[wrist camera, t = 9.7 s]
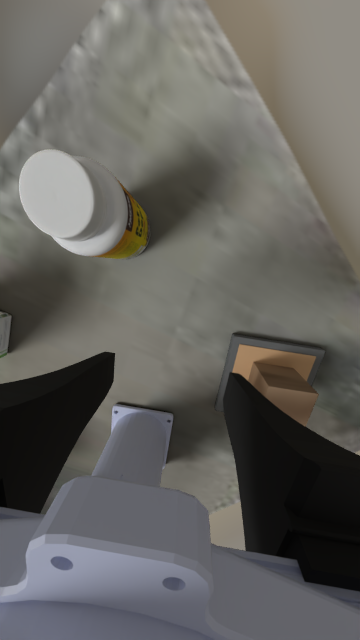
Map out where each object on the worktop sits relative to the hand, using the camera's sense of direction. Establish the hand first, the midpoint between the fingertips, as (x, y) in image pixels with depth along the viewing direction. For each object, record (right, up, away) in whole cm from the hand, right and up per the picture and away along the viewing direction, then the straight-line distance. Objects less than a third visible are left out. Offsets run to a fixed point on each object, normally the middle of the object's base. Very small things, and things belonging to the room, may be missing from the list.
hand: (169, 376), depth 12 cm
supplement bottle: (-5, +13, +8) cm, 16 cm away
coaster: (+11, -4, +11) cm, 16 cm away
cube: (+11, -4, +10) cm, 15 cm away
